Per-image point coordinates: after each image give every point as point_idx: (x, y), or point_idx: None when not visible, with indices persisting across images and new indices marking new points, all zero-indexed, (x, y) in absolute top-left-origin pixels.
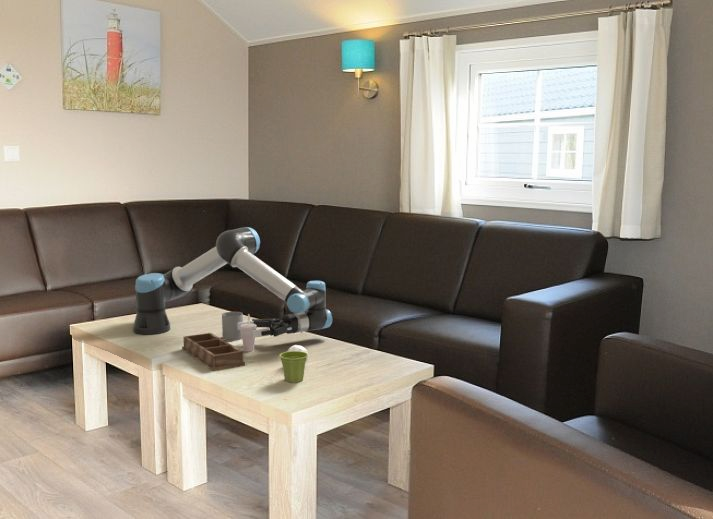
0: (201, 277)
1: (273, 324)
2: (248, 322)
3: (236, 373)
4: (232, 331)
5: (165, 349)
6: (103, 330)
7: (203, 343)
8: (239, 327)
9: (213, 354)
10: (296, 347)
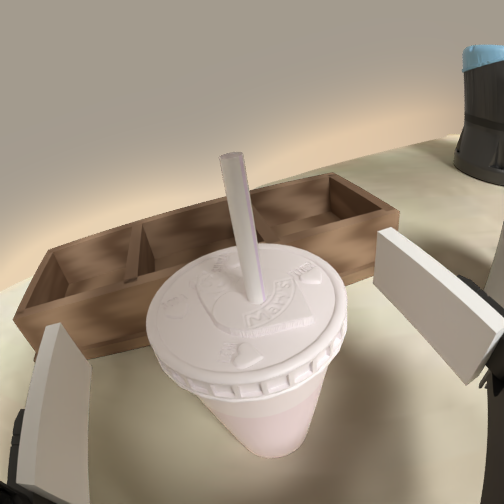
0: None
1: None
2: (244, 268)
3: (5, 332)
4: (500, 284)
5: None
6: (455, 143)
7: None
8: (382, 272)
9: (60, 248)
10: None
